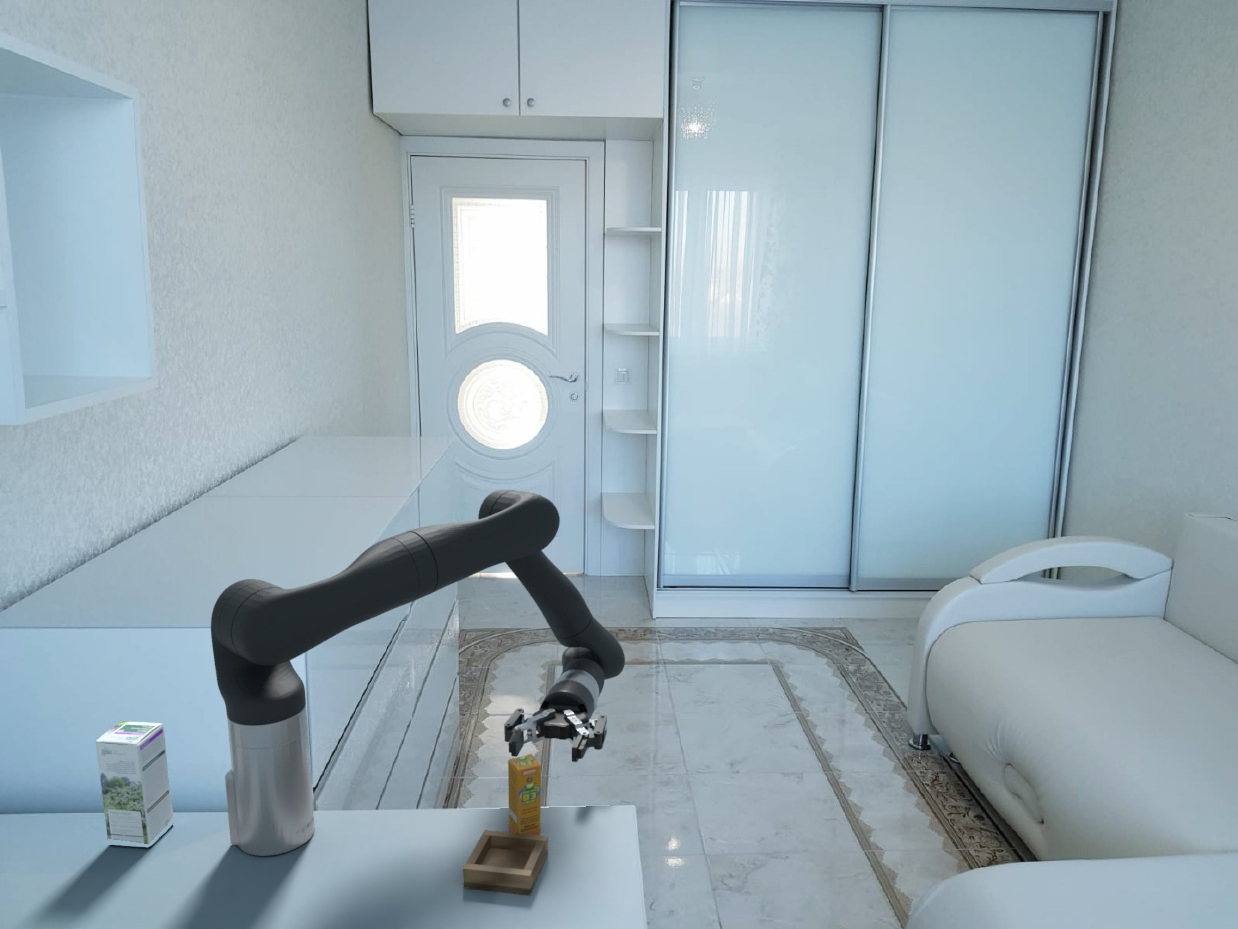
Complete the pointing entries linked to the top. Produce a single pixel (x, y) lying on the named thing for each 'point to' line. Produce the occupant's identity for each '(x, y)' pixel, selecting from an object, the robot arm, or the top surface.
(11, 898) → the top surface
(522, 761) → the supplement box
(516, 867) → the tray
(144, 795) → the syrup box
